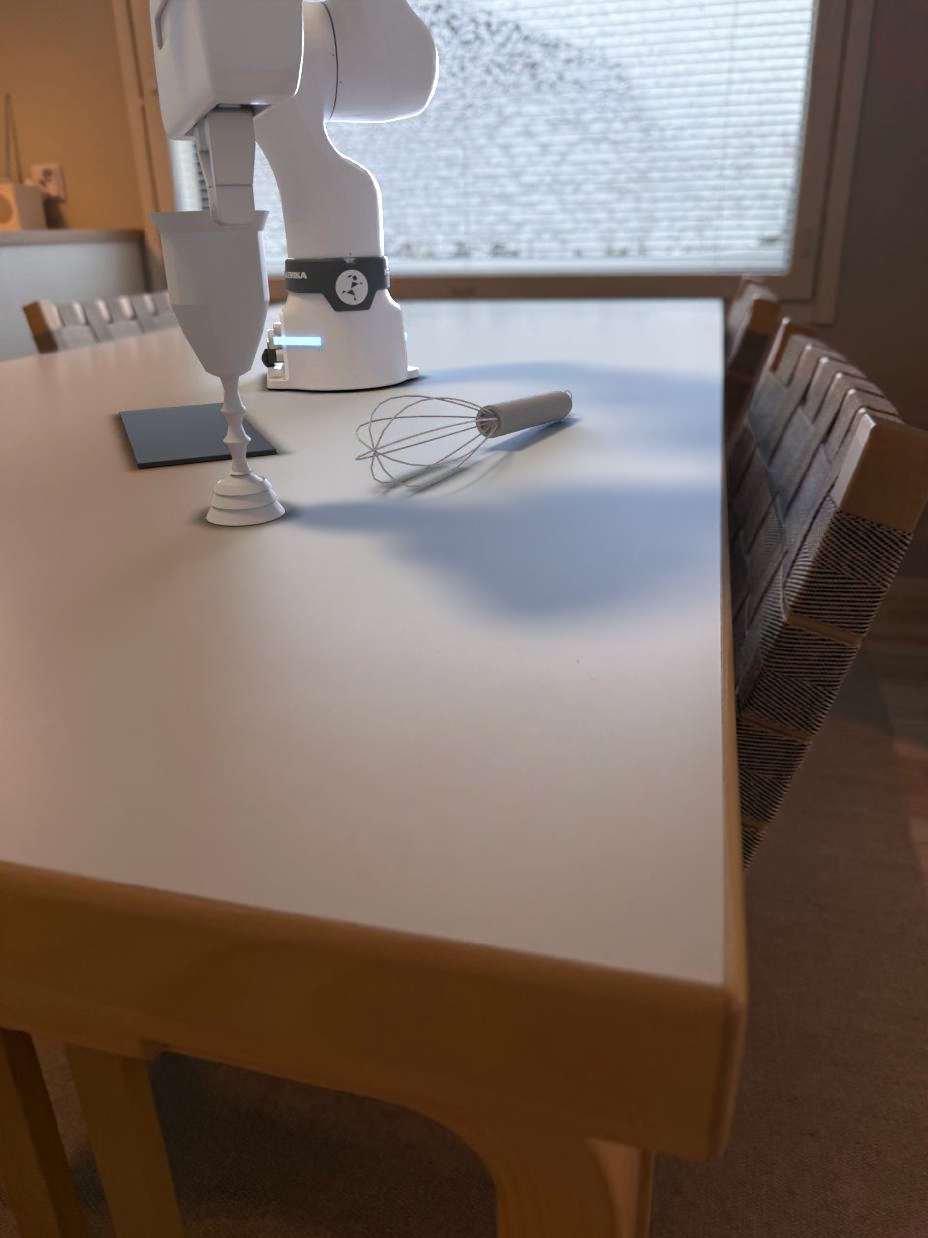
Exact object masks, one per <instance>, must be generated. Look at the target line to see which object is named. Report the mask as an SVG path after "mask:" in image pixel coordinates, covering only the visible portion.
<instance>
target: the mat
mask: <svg viewBox="0 0 928 1238" xmlns="http://www.w3.org/2000/svg"><path fill="white" fill-rule="evenodd" d="M223 404H224V402H215V403H214V402H213V403H202V404H191V405H181V406H179V405H178V406H169V407H156V408H145V409H131V410H122V411H121V410H120V411H119V412H118V413H119V417H120V420H121V423H122V426H123V428H124V431H125V434H126V438H127V440H128V443H129V446H130V448H131V451H132V454H133V457H134V461H135V463H136V466H137V469H146V468H147V469H148V468H157V467H165V466H166V467H167V466H175V465H184V464H185V465H186V464H193V463H203V462H213V461H221V460H232V459H233V458H232V455H231V452H230V449H229V446H228V445H227V444H225V443H224V442H223V440H224V439H225V437H226V436H227V433H228V426H229V425H228V423H227V420H226V418H225V416H224V414H223V413H222V412H221V409H222V407H223ZM242 426H243V429H244V431H245V434H246V435H247V436H248V437H250V438H251V440H250V441H249V443H248V444H247V448H246V458H249V457H259V456H267V455H269V456H270V455H276V454H277V453H278V451H277V448H276V447H275V446H274V445H272V444H271V443H270V441H268V439H266V438H265V437H264V436H263V435H262V434H261V433H260V432H259V431H258V430H257V429H256V428H255V427H253V425H252V424H251V423H250V422H248V420H246V419H245V418H244V417H243V420H242Z"/></svg>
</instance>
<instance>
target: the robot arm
mask: <svg viewBox="0 0 928 1238" xmlns="http://www.w3.org/2000/svg"><path fill="white" fill-rule="evenodd" d="M149 19H150V28H151V29H150V30H151V37H152V38H151V39H152V47H153V57H154V66H155V74H156V75H155V76H156V82H157V83H156V84H157V92H158V99H159V108H160V116H161V120H162V124H163V128H164V131H165V134H166V136H167V138H168V139H170V140H171V141H178V142H179V141H184V142H186V141H187V142H195V147H196V154H197V157H198V161H199V165H200V168H201V172H202V173H201V174H202V176H203V179H204V184H205V188H206V190H207V198H208V207H209V211H210V215H211V219H212V221H213V222H214V223H215V224H216V225H219V226H239V225H248V224H251V223H252V222H253V221H254V220H255V216H256V214H255V210H256V205H255V195H254V176H255V160H256V144H257V146H258V147H259V148H260V150H261V151H262V153H263V155H264V157H265V158H266V160H267V162H268V164H269V166H270V169H271V171H272V174H273V176H274V179H275V183H276V186H277V191H278V194H279V200H280V206H281V210H282V211H281V212H282V219H283V224H284V225H283V226H284V232H285V243H286V252H287V258H285V260H284V272H283V277H284V282H285V283H284V286H285V287H284V288H285V291H286V292H288V293H287V297H286V302H285V304H284V307H283V308H281V312H280V313H279V314H278V315H279V322H275V323H272V328H271V329H267V331H266V332H267V338H266V348H264V349H263V352H262V354H261V357H260V359H261V363H262V364H263V365H264V367H266V368H267V369H266V370H267V372H266V373H267V375H266V376H267V377H266V389H271V390H304V391H350V390H363V389H373V388H380V387H381V388H382V387H386V386H392V385H396V384H397V385H398V384H400V383H402V382H404V381H407V380H411V379H416V378H418V377H420V376H421V375H420V370H419V367H415V366H410V365H409V363H408V362H409V361H408V352H407V351H408V350H407V340H408V333H407V332H405V323H404V313H403V309H402V307H401V306H400V305H399V304H398V303H397V302H396V301H394V299H393V298H392V297H391V296H390V293H389V291H388V289H389V288H390V287H391V281H390V275H391V269H390V266H389V258H388V256H386V255H385V245H384V244H385V243H384V228H383V226H384V225H383V210H382V209H383V207H382V192H381V189H380V186H379V184H378V181H377V180H376V178H375V177H374V175H373V174H372V173H371V172H370V171H369V170H368V169H367V168H366V167H364V166H363V165H361V164H360V163H359V162H357V161H355V160H353V159H351V158H349V157H348V156H346V155H344V154H342V153H340V152H339V151H338V150H337V149H336V147H335V145H334V144H333V143H332V141H331V139H330V137H329V136H328V135H329V134H328V132H327V129H326V124H325V123H327V122H331V123H332V122H333V123H334V122H336V123H337V122H338V123H339V122H340V123H386V122H391V121H397V120H402V119H406V118H410V117H413V116H417V115H419V114H421V113H422V112H423V111H424V110H425V108H426V107H427V106H428V105H429V103H430V101H431V99H432V98H433V95H434V93H435V90H436V87H437V84H438V79H439V56H438V50H437V45H436V43H435V39H434V37H433V35H432V33H431V32H430V30H429V28H428V26H427V25H426V23H425V21H423V19H422V18H421V17H420V16H419V15H417V13H416V12H415V11H414V10H413V7H411V5H410V4H409V3H408V1H407V0H321V1H318V2H317V1H304V0H149Z"/></svg>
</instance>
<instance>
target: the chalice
mask: <svg viewBox="0 0 928 1238" xmlns="http://www.w3.org/2000/svg"><path fill="white" fill-rule="evenodd" d="M147 214H148V216H149V217H150V219H151V221H152V222H153V224H154V225H155V227H156V229H157V231H158V233H159V236H160V242H161V249H162V250H161V251H162V256H163V257H162V258H163V263H164V271H165V278H166V285H167V291H168V292H167V293H168V301H169V304H170V307H171V309H172V312H173V314H174V316H175V318H176V320H177V322H178V324H179V327H180V329H181V332H182V334H183V336H184V337H185V339H186V340H187V342H188V343H189V346H190V347H191V350H193V352H194V354H195V356H196V358H197V359H198V361H199V362H200V364H201V366H202V368H203V370H204V371H205V372H206V373H207V374H210V375H212V376H214V377H217V378H219V379H220V382H221V386H222V388H223V392H224V393H223V403H224V404H223V407H222V409H221V412H222V413H223V414H224V416H225V418H226V420H227V423H228V425H229V426H228V433H227V436H226V437H225V439H224V440H223V442H224V443H225V444H227V445H228V446H229V449H230V452H231V455H232V459H231V460H232V461H231V469H230V470H229V471H227V472H228V474H229V475H228V476H226V477H223V478H221V479H219V480H218V481H217V483H216V484H215V486H214V487H213V490H212V491H213V492H214V493H213V495H212V497H211V499H210V501H209V502H210V503H209V504H210V507H209V510H208V512H207V514H206V517H205V519H206V521H207V522H209V523H211V524H214V525H219V526H232V527H233V526H234V527H238V526H239V527H240V526H251V525H258V524H264V523H267V522H271V521H275V520H277V519H279V518H281V517H282V516H283V515H284V514H285V513H286V512H285V511H286V509H285V508H284V507H283V506H282V505H281V503H280V502H279V501H278V495H277V493H276V492H275V491H274V490H273V488H272V486H273V485H272V484H271V483H270V482H269V480H268V479H267V478H266V477H265V476H263V475H260V474H259V475H258V474H254V473H253V472H254V470H253V468H250V465H249V463H248V460H247V457H246V448H247V444H248V443H249V441H250V440H251V438H250V437H248V436H247V435H246V434H245V431H244V429H243V426H242V420H243V418H244V414H245V413H246V410H247V408H246V407H245V405H244V404H243V402H242V399H241V395H240V393H239V384H240V383H239V382H240V381H239V380H240V377H241V376H243V375H244V374H247V373H248V372H250V371H251V370H252V368H253V365H254V362H255V359H256V356H257V352H258V349H259V345H260V343H261V340H262V337H263V333H264V330H265V325H266V320H267V315H268V309H269V305H270V299H271V298H270V288H269V278H268V277H269V276H268V268H267V267H268V266H267V257H266V247H265V237H264V230H265V226H266V223H267V220H268V218H269V214H270V210H265V209H264V210H261V209H255V214H256V216H255V220H254V221H253V222H252V223H251V224H248V225H239V226H219V225H216V224H215V223H214V222H213V221H212V219H211V215H210V210H182V211H181V210H180V211H177V210H176V211H160V212H159V211H157V212H148V213H147Z"/></svg>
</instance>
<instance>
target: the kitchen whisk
mask: <svg viewBox="0 0 928 1238" xmlns="http://www.w3.org/2000/svg"><path fill="white" fill-rule="evenodd" d="M567 392H568V393H569V394H568V393H567ZM401 398H420V399H418V400H417V401H414V402H412V403H409V404H407V405H406V406H405V407H403V408H402V409H400V410H399V411H398V412H397V413H395V414H394V415H393V416H390V417H382V418H378V419H373V415H374V414H375V412H376V411H377V409H378V408H380V406H381V405H383V404H384V403H386V402H389V401H390V400H395V399H401ZM432 400H437V401H441V402H446V403H451V404H454V405H458V406H461V407H465V408H467V409H471V410H473V411H477V413H476V415H475V416H470V415H467V416H466V415H400V414H401V413H402V412H404V411H405V410H406V409H408V408H410V407H412V406H414V405H417V404H419V403H422V402H426V401H427V402H428V401H432ZM460 402H462V403H465V404H462V403H460ZM466 404H469V405H466ZM470 405H472V406H473V407H472V406H470ZM478 408H479V409H478ZM572 409H573V393H572V392H571V391H570V390H568V389H566V390H564V391H561V390H553V391H548V392H543V393H539V394H534V395H528V396H525V397H520V398H515V399H510V400H505V401H501V402H496V403H492V404H487V405H484V406H481V405H478V404H475V403H474V402H471V401H467V400H465V399H461V398H456V397H455V398H454V397H448V396H427V395H421V394H420V395H419V394H403V395H402V394H401V395H397V396H390V397H389V398H386V399H385V400H382V401H380V402H378V404H377V405H376V406H375V407H374V409H373V410H372V411H371V413H370V415H369V416H370V417H369V421H366V422H363V423H362V424H359V425H358V426H357V428H356V430H355V431H354V434H355V436H356V438H357V440H358V442H359V443H361V444H362V445H363V446H365V447H366V448H367V449H369V450H368V451H366V452H364V453H361V454H359V455H358V456H356V457H354V461H361V460H367V459H371V463H370V467H369V468H370V472H371V477H372V479H373V480H374V481H376V482H378V483H379V484H381V485H385V484H395V483H396V484H398V485H401V486H402V487H403V486H404V487H406V488H423V487H426V486H430V485H433V484H436V483H437V482H439V481H441V480H443V479H444V478H446V477H448V476H449V475H451V474H452V473H454V471H456V470H457V469H458V468H460V467H461V466H462V465H463V464H465V462H466V461H468V459H470V458H471V457H472V456H473V455H474V454H475V452H477V450H479V449H480V448H481V446H482V445H484V444H485V443H486V441H487V440H488V439H495V438H498V437H502V436H506V435H510V434H513V433H516V432H520V431H523V430H524V431H525V430H527V429H532V428H534V427H535V428H536V427H538V426H541V425H545V424H548V423H553V422H556V421H560V420H563V419H565V418H566V417H567V416H568V415H569V414H570V413H571V412H572ZM399 415H400V416H399ZM413 418H452V419H453V418H459V419H472V420H467V421H462V422H458V423H451V424H448V425H445V426H441V427H440V426H439V427H436V428H433V429H429V430H426V431H422V432H419V433H416V434H415V433H414V434H412V435H409V436H406V437H403V438H400V439H398V440H395V441H392V442H388V443H386V444H383V445H380V443H381V439H382V437H383V435H384V433H385V431H386V430H387V429H388V427H390V425H391V423H392V422H393V421H394V420H399V419H413ZM473 419H474V420H473ZM387 420H388V422H387V424H386V425H385V426H384V428H383V429H382V431H381V433H380V436H379V437H378V440H377V442H376V444H375V443H374V439H373V435H372V430H371V428H372V423H375V422H381V421H387ZM471 423H475V425H474V426H470V427H467V428H465V429H461V430H457V431H454V432H451V433H448V434H444V435H441V436H437V437H433V438H430V439H426V440H424V441H420V442H417V443H413V444H409V445H406V446H402V447H398V448H395V449H391V450H387V451H383V452H380V451H378V450H382V449H384V448H386V447H388V446H392V445H395V444H398V443H400V442H403V441H406V440H410V439H412V438H415V437H418V436H422V435H425V434H429V433H432V432H433V433H434V432H436V431H439V430H443V429H447V428H451V427H456V426H461V425H467V424H471ZM366 425H368V434H369V438H370V443H371V446H369V445H368V444H367V443H366V442H364V441H363V440H362V439H361V438H360V436H359V434H358V431H359V430H360V429H361V427H364V426H366ZM473 429H477V431H478V433H479V434H477V435H475V436H474V437H473V438H471V439H470V440H468V441H467V442H466V443H464V444H463V445H461V446H459V448H457V449H455V450H454V451H452V452H451V453H449V454H447V455H445V456H444V457H443V458H440V459H439V460H437V461H435V462H434V463H431V464H422V463H410V462H406V461H403V460H399V459H394V458H392V457H390V456H387V454H390V453H394V452H397V451H402V450H405V449H408V448H411V447H415V446H419V445H422V444H425V443H429V442H433V441H435V440H439V439H442V438H446V437H449V436H453V435H456V434H459V433H462V432H466V431H469V430H473ZM480 436H482V437H484V439H483V440H482V441H481V442H480V443H479V444H477V445H476V447H474V448H472V449H471V450H470V451H468V452H467V453H465V454H463V455H461V456H459V457H456V458H455V459H451V460H448V461H445V462H443V461H444V460H446V459H448V458H449V457H451V456H452V455H454V454H455V453H457V452H458V451H461V449H463V448H465V447H467V446H468V445H469V444H470V443H472V442H473V441H475V440H476V439H478V438H479V437H480ZM379 445H380V446H379ZM371 453H372V455H369V456H367V455H368V454H371ZM379 456H381V457H383V458H385V459H388V460H390V461H392V462H396V463H399V464H403V465H407V466H410V467H425V468H423V469H421V470H419V471H417V472H414V473H412V474H411V475H408V476H405V477H403V478H399V479H395V478H394V477H393V476H392V475H391V474H390V473H389V472H388V471H387V470H386V469H385V468H384V464H383V463H382V461H381V459H380V457H379ZM465 457H466V458H465ZM375 458H376V460H377V461H378V463H379V465H380V468H381V470H382V471H383V472H384V473H385V474H386V475H387V476H388V477H389V478H390V479H391V480H392V481H382V480H380V479H378V478H376V475H375V473H374V469H373V467H374V463H375ZM463 458H465V459H463ZM461 459H463V460H462V461H461V462H460V463H459V464H458V465H457V466H456V467H454V468H453V469H451V470H450V471H449V472H448V473H446V474H444V475H442V476H440V477H438V478H437V479H435V480H433V481H430V482H427V483H424V484H411V485H409V484H406V483H403V482H402V481H404V480H405V481H406V480H408V479H410V478H412V477H415V476H417V475H419V474H421V473H423V472H425V471H427V470H429V469H430V468H432V467H438V466H444V465H447V464H451V463H453V462H454V463H455V462H456V461H459V460H461Z"/></svg>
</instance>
